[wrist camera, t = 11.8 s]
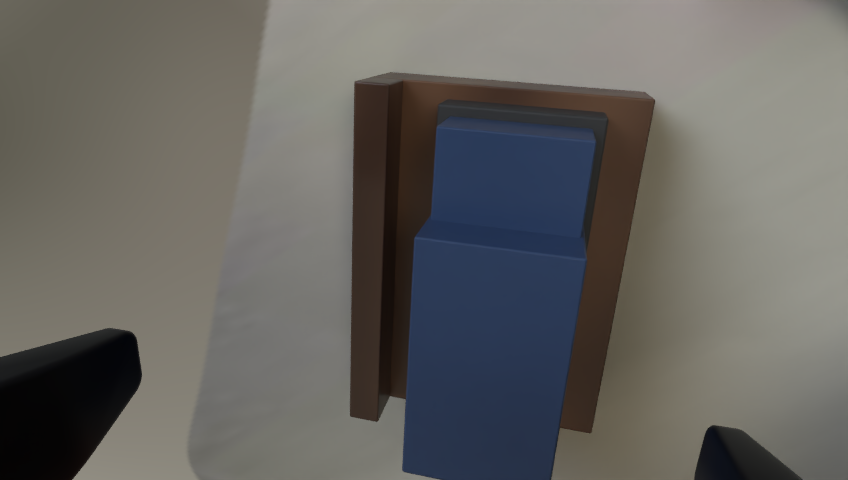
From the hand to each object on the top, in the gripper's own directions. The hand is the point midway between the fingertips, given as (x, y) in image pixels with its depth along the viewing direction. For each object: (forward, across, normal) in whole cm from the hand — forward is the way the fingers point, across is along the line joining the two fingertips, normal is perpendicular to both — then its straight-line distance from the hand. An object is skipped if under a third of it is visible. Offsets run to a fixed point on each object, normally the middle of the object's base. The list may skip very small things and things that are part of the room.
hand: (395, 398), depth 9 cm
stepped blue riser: (+10, -1, +2) cm, 10 cm away
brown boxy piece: (+12, 0, +2) cm, 12 cm away
